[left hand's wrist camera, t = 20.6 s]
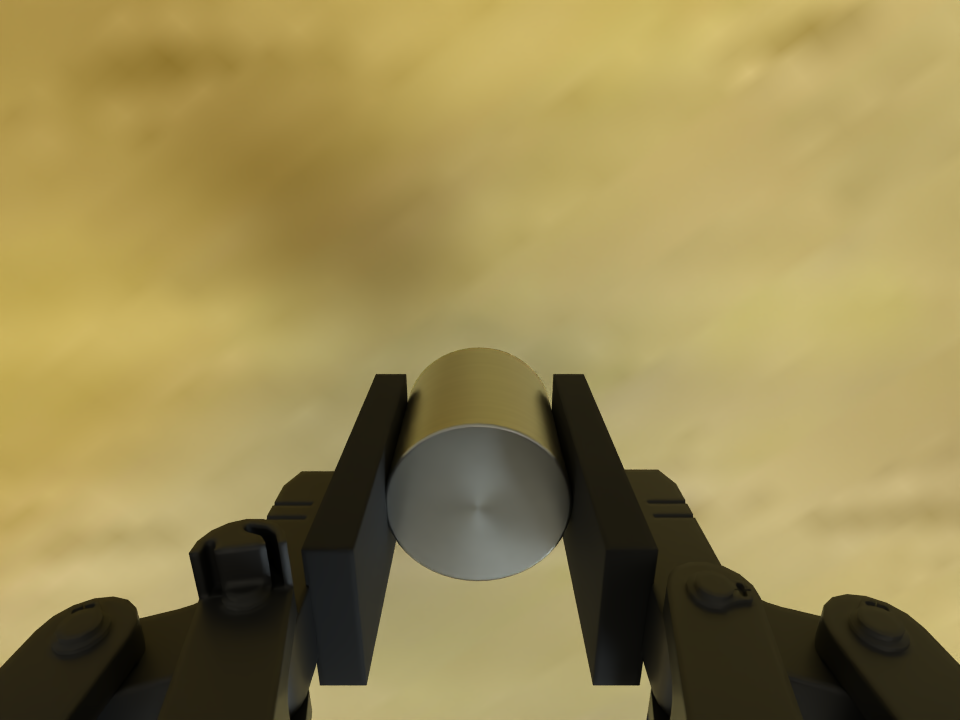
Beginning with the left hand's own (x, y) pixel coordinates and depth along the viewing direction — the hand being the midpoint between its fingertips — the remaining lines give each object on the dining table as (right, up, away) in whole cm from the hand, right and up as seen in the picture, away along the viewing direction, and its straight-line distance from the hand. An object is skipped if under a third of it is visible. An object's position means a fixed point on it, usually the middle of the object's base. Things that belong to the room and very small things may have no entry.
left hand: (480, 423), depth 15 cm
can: (0, 0, 0) cm, 0 cm away
